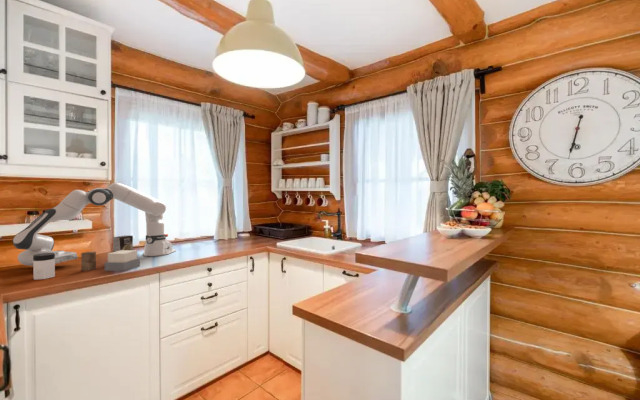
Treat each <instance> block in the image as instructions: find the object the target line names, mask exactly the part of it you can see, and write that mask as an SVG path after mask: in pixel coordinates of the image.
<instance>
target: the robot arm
mask: <svg viewBox="0 0 640 400" xmlns="http://www.w3.org/2000/svg"><path fill="white" fill-rule="evenodd" d="M112 199H113V200H117V201H120V202H122V203H123V204H126V205H128V206H131V207H132V208H135V209H138V210H139V211H142V212H144V213H145V223H146V225H145V226H146V231H145V233H146V235H145V243H144V250H143V253H142V254H143V256H145V257H157V256H165V255H169V254H172V253H174V252H176V251H177V249H175V248H173V244H172V242H170V241H169V240H167V238H168V237H169V234H168V233H165V221H164V215H163V214H164V213H165V212H166V210H167V206H166V204H165V203H164V202H163V201H161V200H159V199H157V198H155V197H152V196H150V195H148V194H146V193H143V192H141V191H140V190H137V189H135V188H133V187H131V186H128V185H126V184H123V183H121V182H112V183H111V184H110V185H109V186H108V187H107V188H103V187H95V188H93V189H91V190H88V191H85V190H82V189H74V190H72V191H71V192H70V193H68V194H67V196H65V197H64V198H63V199H62V200H61V202H60V203H59V204H57V205H56V206H54V207H52V208H49V209H46V210H45V211H44V212H43V213H42V214H39V216H38V217H37V218H35V220H33V221H32V222H31V223H29V225H27V226H26V227H25V228H24V229H23V230H21V231H19V232H18V233H16V235H14V237H13V238H12V244H13V246H14V248H15V249H17V250H24V251H21V252H20V253H18V255H17V261H18V262H19V263H20V264H21V265H24V266H30V267H33V255H36V254H41V253H55V265H57V264H61V263H63V262H67V261H72V260H77V259H78V254H77V251H76V252H75V251H65V250H53V249H54V246H55V240H54V238H53V237H52V236H48V235H44V234H41V233H40V234H39V232H40V231H41V230H43V228H45V227H46V226H47V225H48V224H50V223H52V222H56V221H70V220H73V219H76V218H77V217H78V216H79V215H80V214H81V212H82V211H83V209H84V208H85V207H86V206H87V205H89V204H92V205H94V206H104V205H107V204H108V203H109V202H110V201H112Z"/></svg>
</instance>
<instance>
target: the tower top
mask: <svg viewBox="0 0 640 400" xmlns="http://www.w3.org/2000/svg"><path fill="white" fill-rule="evenodd" d="M137 258H138V250H136V249H135V250H134V249H133V250H120V251H116V252H113V251H112V252H108V253H107V262H118V263H125V262H128V261H131V260H134V259H137Z"/></svg>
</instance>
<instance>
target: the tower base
mask: <svg viewBox="0 0 640 400" xmlns="http://www.w3.org/2000/svg"><path fill="white" fill-rule="evenodd" d="M138 267H141V258H138V257H137V259H134V260H131V261H128V262H125V263H118V262H108V261H105V262H104V272H127V271H129V270H133V269H136V268H138Z"/></svg>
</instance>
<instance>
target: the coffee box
mask: <svg viewBox="0 0 640 400" xmlns="http://www.w3.org/2000/svg"><path fill="white" fill-rule="evenodd" d="M133 238H134V236H133V235H121V236H120V235H119V236H114V237H112V252H116V251H120V250H134V248H133V247H134V246H133V245H134V241H133V240H134V239H133Z"/></svg>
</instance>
